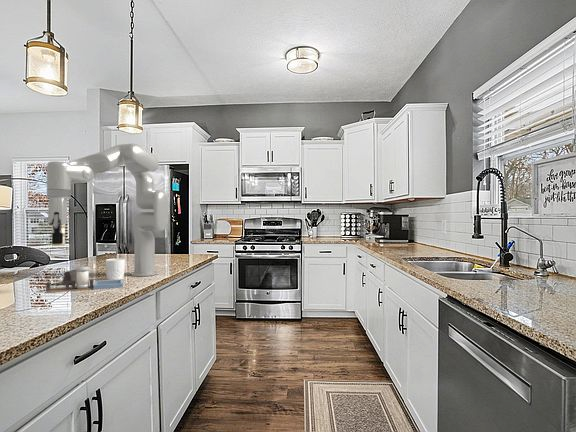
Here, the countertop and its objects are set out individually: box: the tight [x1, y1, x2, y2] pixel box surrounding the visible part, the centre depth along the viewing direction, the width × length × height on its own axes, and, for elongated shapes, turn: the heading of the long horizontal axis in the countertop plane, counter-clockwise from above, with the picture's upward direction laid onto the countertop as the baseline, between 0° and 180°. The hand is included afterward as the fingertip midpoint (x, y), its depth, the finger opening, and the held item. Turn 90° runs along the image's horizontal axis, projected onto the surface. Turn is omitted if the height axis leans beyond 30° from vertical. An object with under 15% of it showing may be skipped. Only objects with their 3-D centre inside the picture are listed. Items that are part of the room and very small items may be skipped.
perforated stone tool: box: [62, 269, 77, 286], centre depth 145 cm, size 15×5×7 cm, turn 4°
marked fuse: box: [51, 224, 66, 247], centre depth 129 cm, size 4×4×8 cm
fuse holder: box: [44, 278, 94, 294], centre depth 131 cm, size 10×15×4 cm, turn 116°
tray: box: [92, 278, 124, 291], centre depth 136 cm, size 10×10×3 cm
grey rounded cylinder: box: [75, 266, 90, 289], centre depth 133 cm, size 4×4×8 cm
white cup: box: [105, 257, 126, 280], centre depth 154 cm, size 8×8×10 cm
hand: (58, 242), depth 129 cm, fingers closed on marked fuse, 4 cm apart
